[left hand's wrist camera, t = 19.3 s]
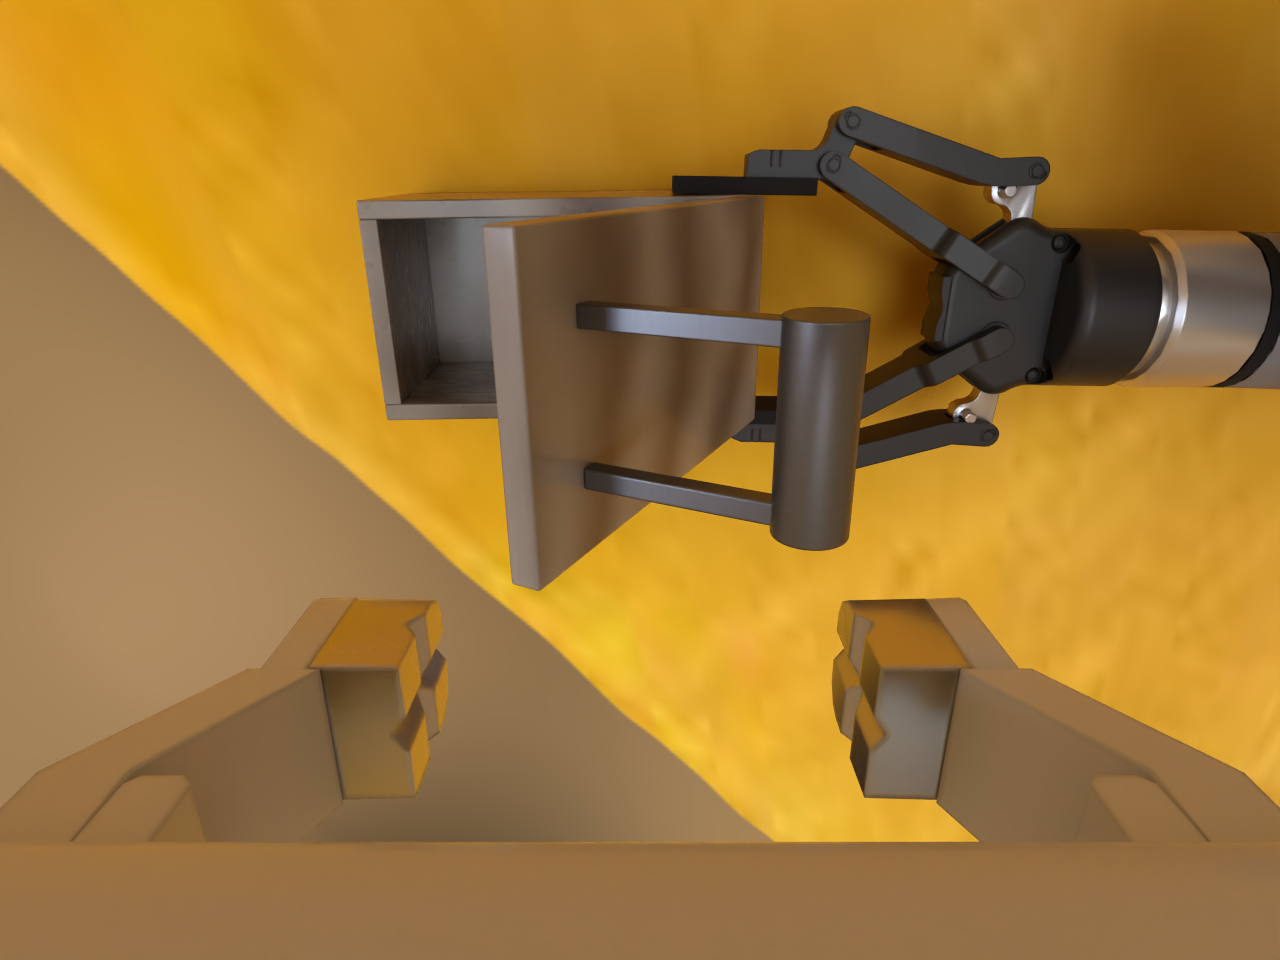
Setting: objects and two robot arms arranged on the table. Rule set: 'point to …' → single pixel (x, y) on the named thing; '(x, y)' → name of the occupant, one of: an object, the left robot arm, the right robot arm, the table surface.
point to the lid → (659, 378)
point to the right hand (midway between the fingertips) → (669, 302)
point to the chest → (452, 289)
